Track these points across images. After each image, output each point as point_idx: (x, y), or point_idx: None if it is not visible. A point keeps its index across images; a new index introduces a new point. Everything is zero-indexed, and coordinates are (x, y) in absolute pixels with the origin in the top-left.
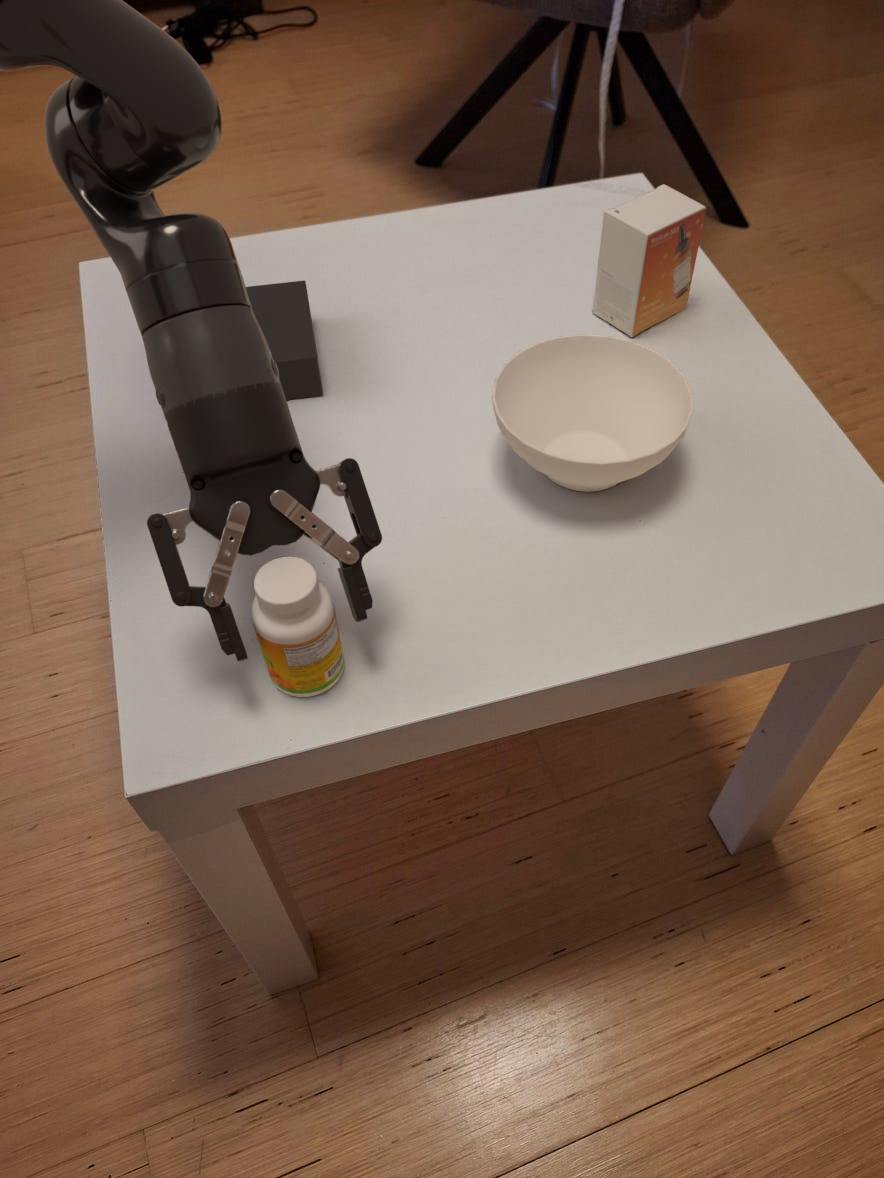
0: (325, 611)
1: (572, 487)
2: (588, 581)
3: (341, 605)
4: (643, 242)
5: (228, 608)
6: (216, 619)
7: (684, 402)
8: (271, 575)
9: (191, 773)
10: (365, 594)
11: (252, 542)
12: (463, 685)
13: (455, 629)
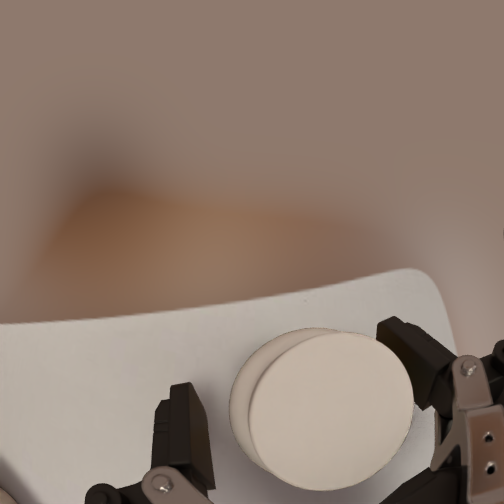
0: (243, 380)
1: (12, 501)
2: (8, 414)
3: (240, 482)
4: None
5: (436, 363)
6: (443, 354)
7: None
8: (375, 427)
9: (393, 272)
10: (163, 420)
11: (430, 495)
12: (112, 339)
13: (107, 414)
